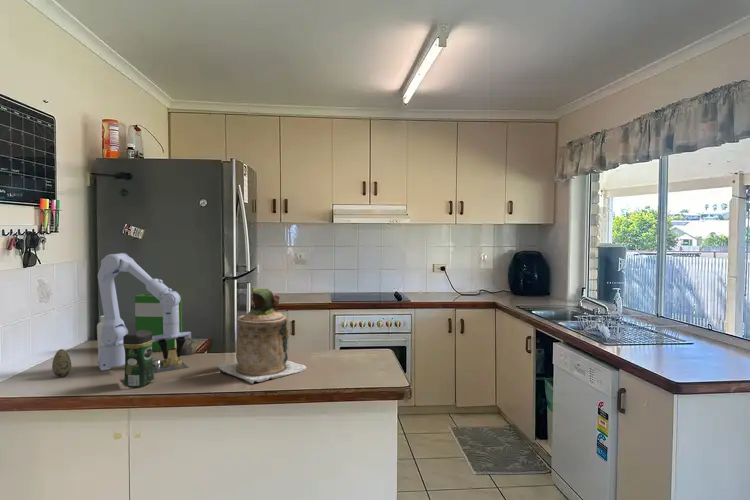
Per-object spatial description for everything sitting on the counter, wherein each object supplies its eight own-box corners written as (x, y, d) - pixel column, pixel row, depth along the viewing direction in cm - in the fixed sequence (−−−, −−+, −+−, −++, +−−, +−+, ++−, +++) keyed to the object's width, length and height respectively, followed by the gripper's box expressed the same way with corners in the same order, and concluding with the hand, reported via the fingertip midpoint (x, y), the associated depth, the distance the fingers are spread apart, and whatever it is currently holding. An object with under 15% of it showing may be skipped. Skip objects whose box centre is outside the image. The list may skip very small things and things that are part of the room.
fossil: (169, 351, 221) (181, 330, 223) (189, 360, 224) (201, 339, 226) (168, 357, 211) (180, 334, 213) (190, 365, 214) (201, 343, 215)
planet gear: (164, 367, 196) (164, 352, 195) (160, 363, 201) (159, 348, 201) (183, 364, 200) (183, 349, 200) (178, 360, 205) (178, 346, 205)
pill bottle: (102, 347, 232) (101, 314, 231) (120, 346, 233) (119, 314, 232) (94, 351, 224) (93, 317, 223) (113, 351, 225) (112, 317, 224)
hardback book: (182, 347, 232) (181, 294, 231) (174, 351, 225) (173, 296, 224) (145, 346, 234) (144, 293, 233) (136, 350, 227) (134, 296, 226)
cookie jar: (253, 385, 177) (252, 293, 175) (215, 371, 193) (214, 287, 192) (308, 370, 195) (308, 286, 193) (269, 359, 212) (269, 281, 210)
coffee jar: (137, 379, 184) (136, 327, 183) (157, 380, 183) (156, 328, 182) (119, 387, 174) (118, 333, 173) (141, 388, 173) (139, 334, 172)
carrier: (147, 377, 187) (146, 366, 186) (137, 366, 200) (137, 356, 200) (189, 370, 195) (189, 359, 195) (177, 360, 209) (177, 350, 209)
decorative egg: (75, 374, 190) (74, 347, 189) (62, 379, 184) (61, 351, 183) (62, 373, 191) (61, 346, 191) (48, 378, 185) (47, 350, 185)
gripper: (153, 326, 192) (154, 362, 193) (193, 322, 201) (193, 357, 201) (149, 323, 198) (150, 358, 199) (187, 319, 206) (188, 353, 207)
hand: (171, 357), depth 200 cm, fingers closed on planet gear, 4 cm apart
